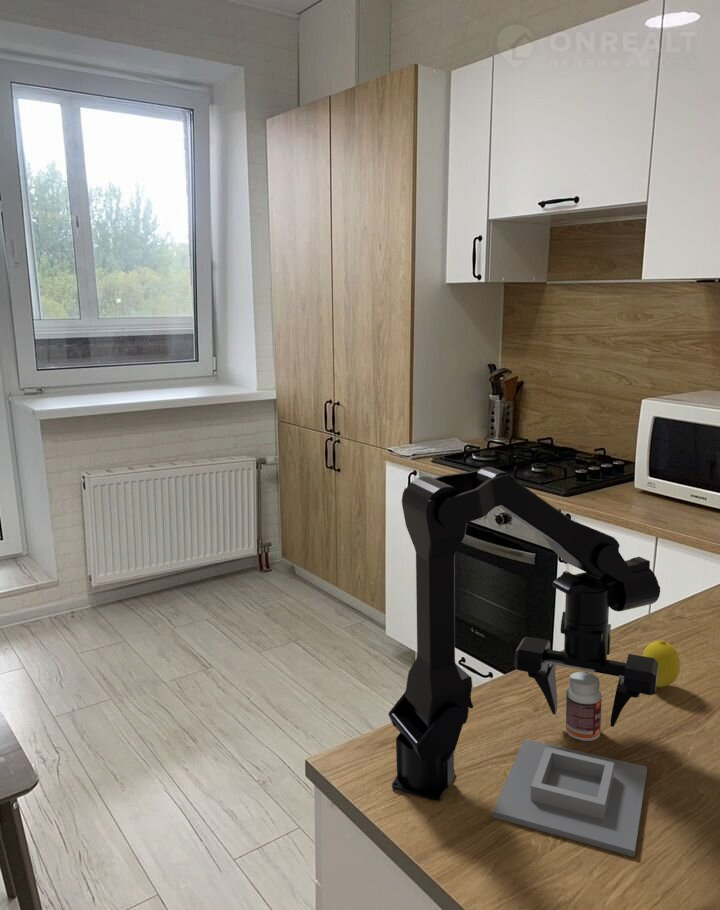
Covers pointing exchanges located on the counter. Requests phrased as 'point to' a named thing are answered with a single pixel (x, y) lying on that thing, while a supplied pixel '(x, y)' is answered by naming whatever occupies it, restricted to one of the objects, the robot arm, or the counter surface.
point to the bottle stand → (574, 796)
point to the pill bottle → (583, 707)
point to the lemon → (664, 661)
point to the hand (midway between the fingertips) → (583, 719)
